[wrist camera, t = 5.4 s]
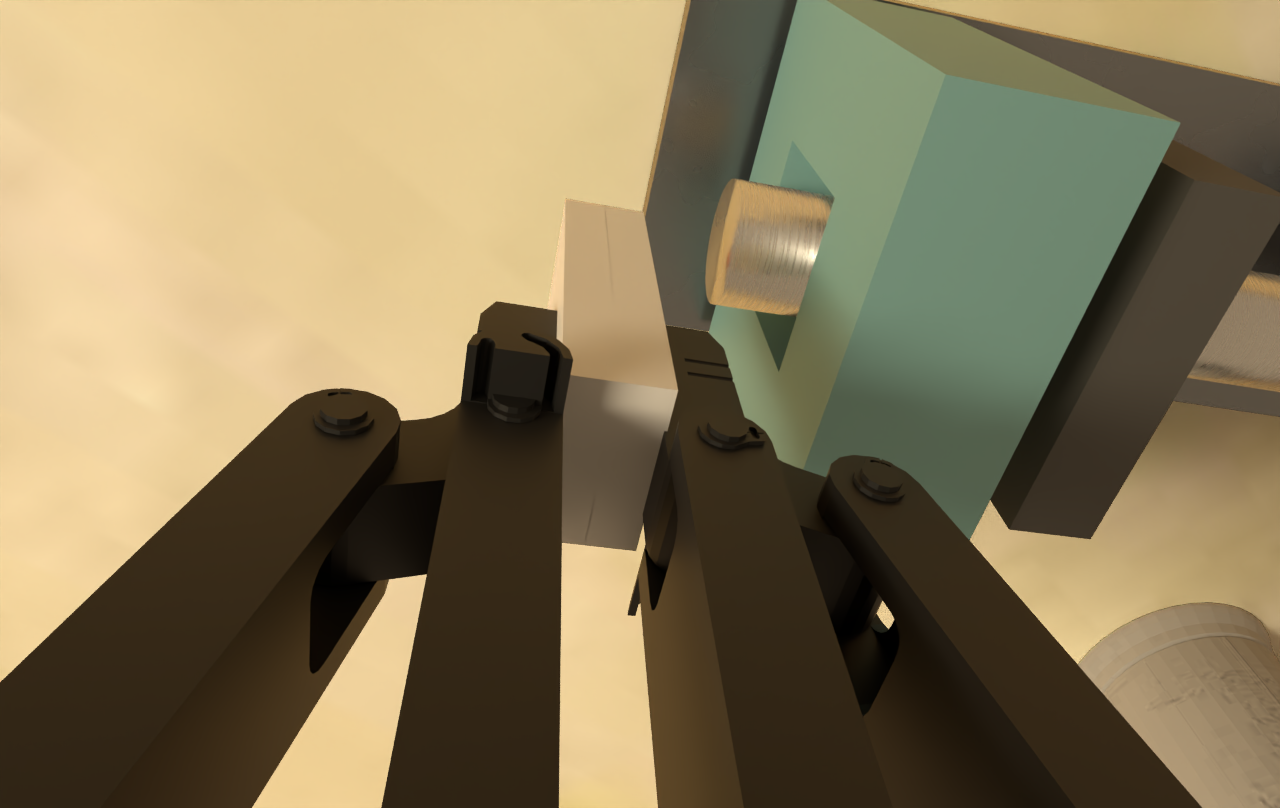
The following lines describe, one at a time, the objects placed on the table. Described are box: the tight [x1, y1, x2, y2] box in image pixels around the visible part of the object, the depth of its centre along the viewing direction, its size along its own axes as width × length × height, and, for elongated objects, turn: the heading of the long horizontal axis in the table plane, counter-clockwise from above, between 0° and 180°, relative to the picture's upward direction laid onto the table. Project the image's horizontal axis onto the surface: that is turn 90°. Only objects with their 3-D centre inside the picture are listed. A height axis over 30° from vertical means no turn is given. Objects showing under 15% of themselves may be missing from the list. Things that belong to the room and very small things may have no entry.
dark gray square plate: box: [990, 140, 1280, 539], centre depth 21 cm, size 2×8×8 cm, turn 169°
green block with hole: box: [709, 0, 1180, 540], centre depth 21 cm, size 4×10×10 cm, turn 169°
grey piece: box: [643, 0, 1280, 417], centre depth 24 cm, size 26×10×9 cm, turn 79°
